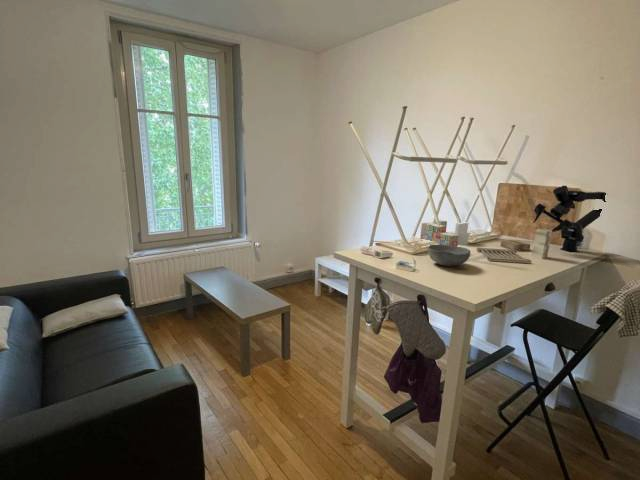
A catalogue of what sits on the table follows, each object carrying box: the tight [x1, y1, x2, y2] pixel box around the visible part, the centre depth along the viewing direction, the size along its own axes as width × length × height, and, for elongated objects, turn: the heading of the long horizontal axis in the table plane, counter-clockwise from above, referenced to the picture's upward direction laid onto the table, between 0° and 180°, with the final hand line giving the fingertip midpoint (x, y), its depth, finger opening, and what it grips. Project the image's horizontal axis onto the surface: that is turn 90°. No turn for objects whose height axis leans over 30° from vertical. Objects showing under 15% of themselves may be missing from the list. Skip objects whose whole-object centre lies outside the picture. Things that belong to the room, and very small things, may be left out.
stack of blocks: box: [419, 222, 459, 247], centre depth 182 cm, size 21×6×12 cm, turn 25°
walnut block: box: [500, 239, 531, 252], centre depth 188 cm, size 10×10×4 cm
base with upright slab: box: [451, 221, 470, 246], centre depth 195 cm, size 9×9×12 cm
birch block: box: [531, 228, 553, 260], centre depth 170 cm, size 5×5×14 cm
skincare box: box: [433, 219, 448, 232], centre depth 199 cm, size 6×4×12 cm
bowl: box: [427, 245, 471, 267], centre depth 152 cm, size 18×18×8 cm
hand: (541, 227), depth 178 cm, fingers open, 9 cm apart
